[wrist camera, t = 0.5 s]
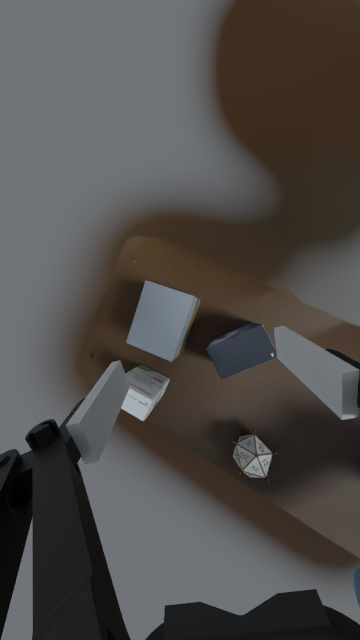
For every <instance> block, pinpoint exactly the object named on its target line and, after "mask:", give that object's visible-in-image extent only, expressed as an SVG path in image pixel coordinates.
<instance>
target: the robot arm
mask: <svg viewBox="0 0 360 640" xmlns="http://www.w3.org/2000/svg"><path fill="white" fill-rule="evenodd" d="M274 332H275V342H276V352H277V358H278V359H279V360H280V361H281V362H282V363H283V364H284V365H285V366H286V367H287V368H288V369H289V370H290V371H291V372H292V373H293V374H294V375H296V376H297V377H298V378H299V379H300V380H301V381H302V382H303V383H304V384H305V385H306V386H307V387H308V388H309V389H310V390H311V391H312V392H313V393H314V394H315V395H316V396H317V397H318V398H319V399H321V400H322V401H323V402H324V403H325V404H326V405H327V406H328V407H329V408H330V409H331V410H332V411H333V412H334V413H335V414H336V415H337V416H338V417H339V418H340V419H341V420H345V419H350V418H356V417H358V407H359V408H360V363H359V362H357V361H355V360H353V359H351V358H350V357H347V356H346V355H344V354H342V353H340V352H338V351H335V350H332V349H325V350H324V349H323V348H321V347H319V346H317V345H316V344H314V343H312V342H311V341H309V340H307V339H305V338H304V337H302V336H300V335H299V334H297V333H295V332H293V331H292V330H290V329H288V328H287V327H285V326H280V327H276V328H274ZM129 388H130V386H129V383H128V381H127V378H126V375H125V372H124V369H123V367H122V364H121V361H115V362H112V363H111V364H110V365H109V367H108V368H107V369H106V371H105V372H104V374H103V375H102V376H101V378H100V379H99V380H98V382H97V383H96V385H95V386H94V387H93V389H92V390H91V391H90V393H89V394H88V395H87V397H86V398H83V399H82V400H81V401H80V402H79V403H77V405H76V406H75V407H74V409H73V411H71V413H70V414H69V416H68V417H67V418H66V419H65V421H64V422H63V423H62V424H61V426H60V427H58V426H57V424H56V422H55V420H54V419H50V420H46V421H44V422H42V423H40V424H38V425H37V426H35V427H34V428H33V429H32V430H31V431H29V433H28V434H27V435H26V438H25V439H26V441H27V443H28V444H29V446H30V448H31V449H32V450H31V451H29V452H27V453H24V454H22V455H20V454H19V452H18V451H17V450H16V449H13V450H9V451H6V452H5V453H3V454H1V455H0V640H1V636H2V632H3V628H4V624H5V621H6V617H7V613H8V609H9V605H10V601H11V598H12V593H13V590H14V586H15V582H16V578H17V574H18V570H19V567H20V563H21V558H22V555H23V551H24V547H25V543H26V540H27V535H28V532H29V528H30V524H31V520H32V516H33V637H32V640H131V639H130V637H129V635H128V632H127V629H126V627H125V624H124V621H123V618H122V614H121V611H120V607H119V604H118V600H117V597H116V593H115V590H114V587H113V583H112V579H111V576H110V572H109V569H108V566H107V562H106V559H105V555H104V552H103V548H102V545H101V541H100V538H99V534H98V531H97V527H96V524H95V520H94V517H93V513H92V510H91V506H90V503H89V500H88V496H87V493H86V489H85V486H84V482H83V478H82V475H81V472H80V468H79V466H78V464H77V463H78V461H79V459H80V457H82V459H83V461H84V463H85V464H88V463H94V462H98V460H99V458H100V456H101V453H102V451H103V449H104V446H105V444H106V442H107V439H108V437H109V435H110V432H111V430H112V428H113V425H114V423H115V421H116V418H117V416H118V414H119V411H120V409H121V407H122V404H123V402H124V400H125V397H126V395H127V393H128V390H129ZM353 582H354V589H355V593H356V597H357V601H358V604H359V607H360V568H358V569H357V570H356V572H355V573H354V578H353ZM145 640H360V625H359V624H358V623H357V622H355V621H353V620H352V619H350V618H349V617H347V616H346V615H344V614H342V613H340V612H338V611H336V610H334V609H332V608H330V607H326V606H324V605H322V603H321V600H320V598H319V595H318V593H317V591H316V589H313V590H304V591H295V592H286V593H278V594H276V595H274V596H273V597H271V598H270V599H268V600H266V601H265V602H263V603H262V604H260V605H259V606H257V607H256V608H254V609H252V610H251V611H249V612H248V613H246V614H245V615H236V614H233V613H230V612H227V611H224V610H222V609H219V608H216V607H213V606H210V605H207V604H204V603H202V602H195V603H186V604H176V605H167V606H165V616H164V623H162V624H161V625H160V626H158V627H157V628H156V629H155V630H154V631H153V632H152V633H151V634H150V635H149V636H148V637H147V638H146V639H145Z"/></svg>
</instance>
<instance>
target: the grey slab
mask: <svg viewBox="0 0 360 640" xmlns="http://www.w3.org/2000/svg"><path fill="white" fill-rule="evenodd" d="M197 299H198V298H196V297H194V296H192V295H189V294H186V293H183V292H180V291H177V290H174V289H171V288H168V287H165V286H162V285H159V284H156V283H153V282H150V281H147V280H146V281H145V284H144V287H143V290H142V294H141V297H140V300H139V303H138V306H137V310H136V313H135V316H134V319H133V322H132V325H131V329H130V332H129V335H128V338H127V341H126V343H128V344H130V345H133V346H135V347H137V348H140V349H142V350H145V351H147V352H149V353H152V354H154V355H157V356H159V357H161V358H164V359H166V360H168V361H171V362H172V361H173V360H174V359H175V358H176V357H177V356H178V354H179V351H180V348H181V345H182V342H183V339H184V337H185V334H186V331H187V328H188V325H189V322H190V319H191V316H192V314H193V311H194V308H195V305H196V302H197Z"/></svg>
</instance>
